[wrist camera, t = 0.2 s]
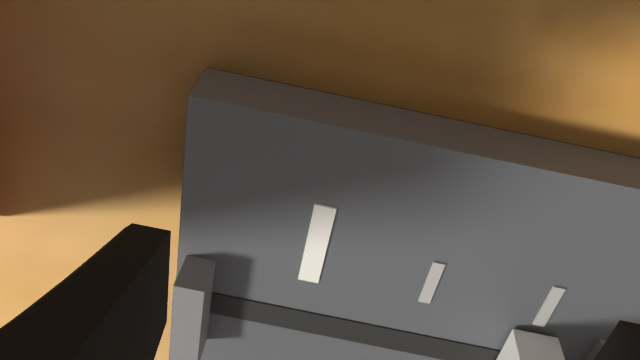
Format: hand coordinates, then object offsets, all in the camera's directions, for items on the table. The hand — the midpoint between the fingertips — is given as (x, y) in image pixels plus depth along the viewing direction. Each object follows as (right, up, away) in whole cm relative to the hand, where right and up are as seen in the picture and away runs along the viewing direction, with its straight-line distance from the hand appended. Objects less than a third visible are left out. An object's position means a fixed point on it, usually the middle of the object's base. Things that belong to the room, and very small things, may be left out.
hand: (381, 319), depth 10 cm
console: (+2, -2, +13) cm, 14 cm away
